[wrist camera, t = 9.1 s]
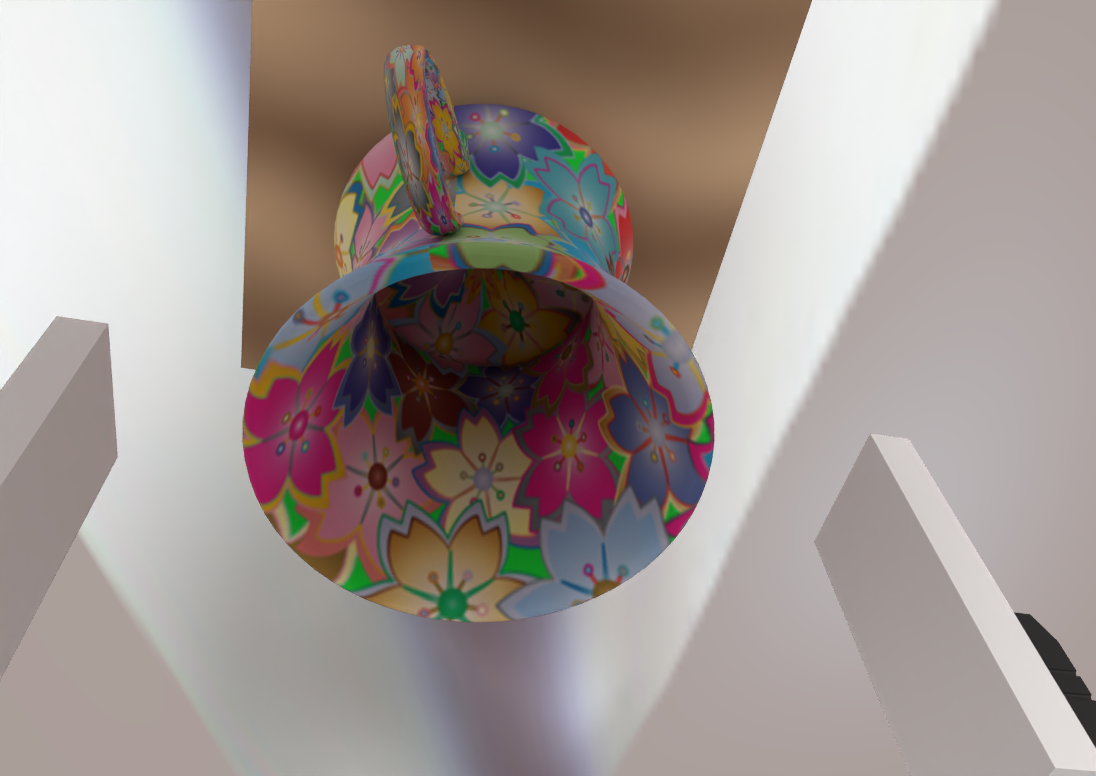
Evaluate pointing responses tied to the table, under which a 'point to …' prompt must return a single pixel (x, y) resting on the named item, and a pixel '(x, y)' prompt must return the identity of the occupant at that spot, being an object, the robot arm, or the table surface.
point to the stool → (527, 83)
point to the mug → (478, 376)
